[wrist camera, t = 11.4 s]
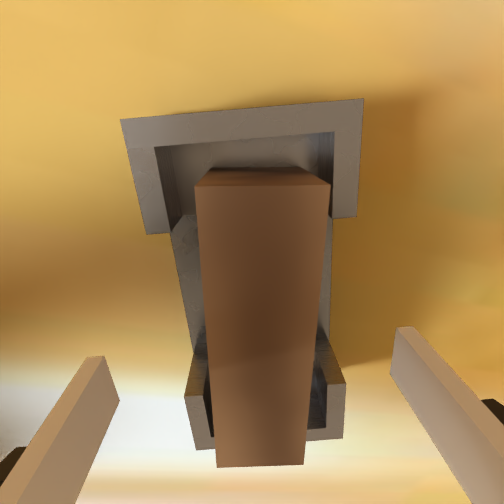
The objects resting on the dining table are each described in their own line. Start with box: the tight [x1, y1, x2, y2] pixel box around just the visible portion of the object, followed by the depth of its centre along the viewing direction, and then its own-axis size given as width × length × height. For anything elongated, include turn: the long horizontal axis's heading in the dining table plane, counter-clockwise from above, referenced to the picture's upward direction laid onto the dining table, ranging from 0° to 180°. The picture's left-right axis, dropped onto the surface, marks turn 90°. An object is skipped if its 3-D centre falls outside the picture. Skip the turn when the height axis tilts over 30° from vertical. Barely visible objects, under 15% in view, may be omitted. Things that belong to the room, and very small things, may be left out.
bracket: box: [120, 99, 364, 450], centre depth 19 cm, size 11×22×6 cm, turn 4°
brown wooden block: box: [194, 167, 331, 468], centre depth 16 cm, size 5×16×6 cm, turn 0°
